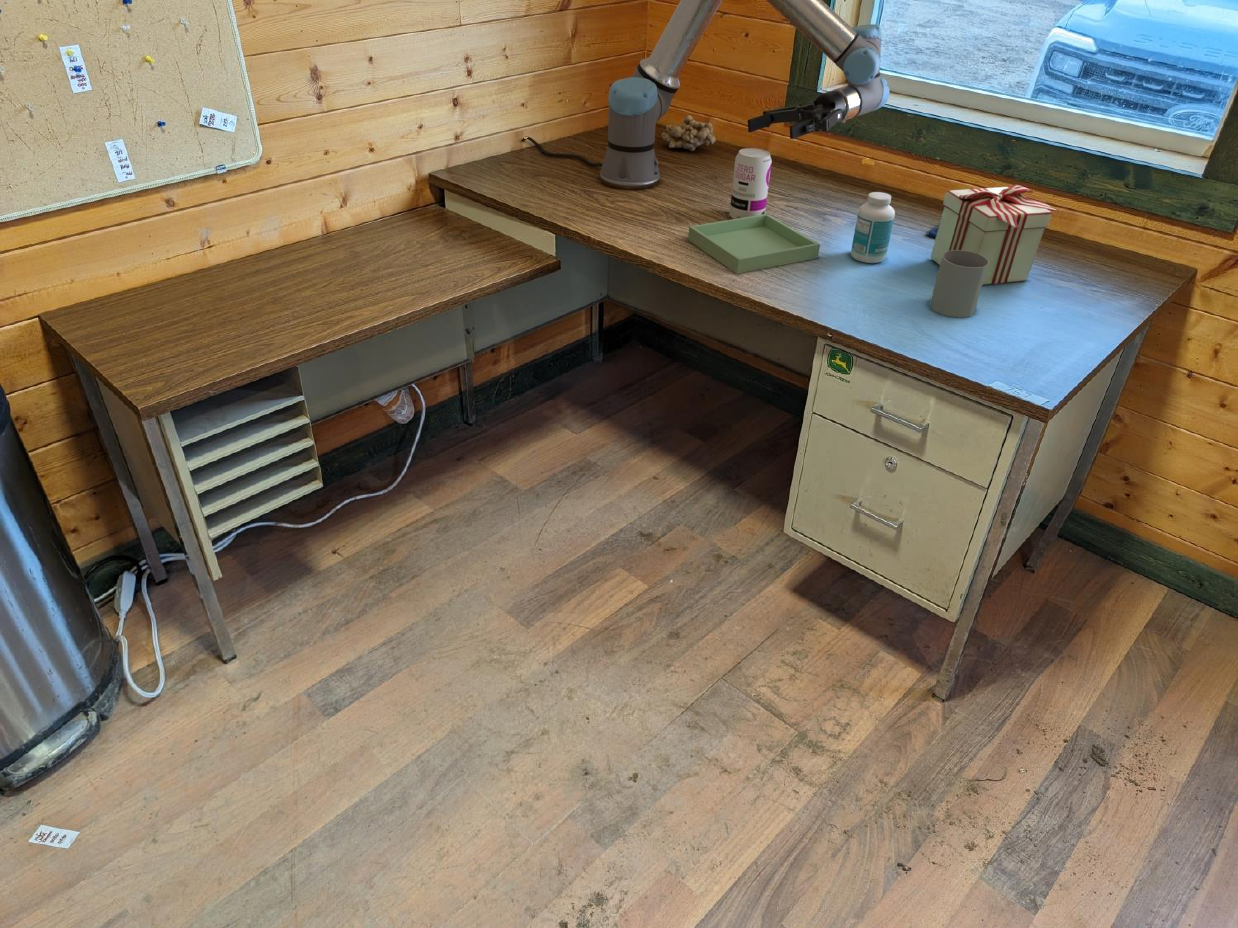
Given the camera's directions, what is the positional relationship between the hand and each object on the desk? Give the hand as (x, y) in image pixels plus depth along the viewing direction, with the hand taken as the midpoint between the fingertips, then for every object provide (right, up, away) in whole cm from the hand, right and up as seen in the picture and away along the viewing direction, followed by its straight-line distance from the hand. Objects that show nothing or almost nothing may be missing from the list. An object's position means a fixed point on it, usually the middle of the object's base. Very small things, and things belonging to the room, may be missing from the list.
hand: (769, 129), depth 200 cm
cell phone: (+43, -22, +4) cm, 49 cm away
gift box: (+43, -36, -15) cm, 58 cm away
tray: (-5, -29, -9) cm, 31 cm away
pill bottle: (+19, -32, -10) cm, 39 cm away
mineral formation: (-14, +13, +50) cm, 53 cm away
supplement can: (-4, -18, +7) cm, 20 cm away
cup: (+30, -46, -29) cm, 62 cm away
